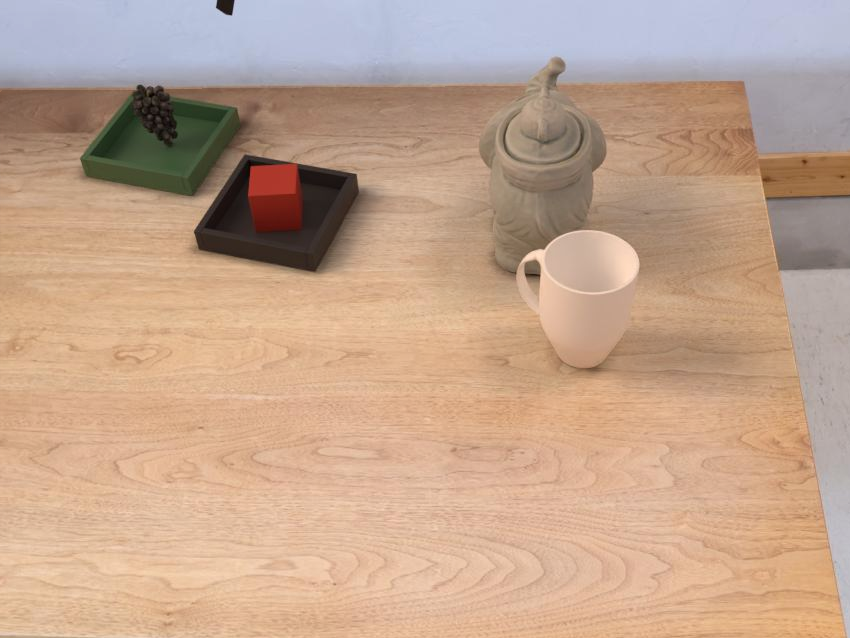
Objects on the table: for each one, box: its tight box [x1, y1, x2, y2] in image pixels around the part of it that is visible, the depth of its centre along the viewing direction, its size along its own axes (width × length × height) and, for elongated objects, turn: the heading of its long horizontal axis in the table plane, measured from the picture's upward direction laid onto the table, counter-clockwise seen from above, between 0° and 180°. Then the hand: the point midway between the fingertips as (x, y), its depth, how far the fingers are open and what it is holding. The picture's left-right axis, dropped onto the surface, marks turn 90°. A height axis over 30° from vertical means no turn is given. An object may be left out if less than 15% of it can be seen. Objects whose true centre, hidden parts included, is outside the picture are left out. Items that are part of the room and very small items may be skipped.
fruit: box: [131, 84, 178, 146], centre depth 128 cm, size 5×4×8 cm
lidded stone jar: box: [478, 56, 608, 276], centre depth 114 cm, size 16×15×19 cm
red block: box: [248, 164, 303, 232], centre depth 121 cm, size 5×5×5 cm
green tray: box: [79, 90, 242, 197], centre depth 131 cm, size 14×14×3 cm
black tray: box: [193, 154, 360, 273], centre depth 123 cm, size 14×14×3 cm
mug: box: [515, 229, 640, 369], centre depth 106 cm, size 12×9×12 cm
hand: (168, 4), depth 126 cm, fingers open, 13 cm apart
